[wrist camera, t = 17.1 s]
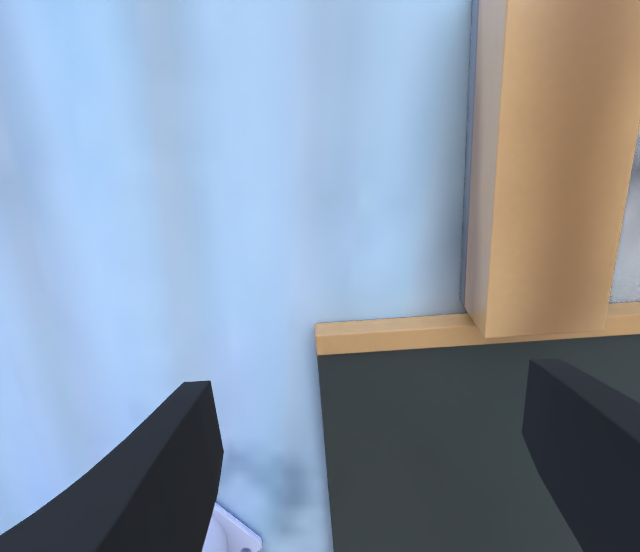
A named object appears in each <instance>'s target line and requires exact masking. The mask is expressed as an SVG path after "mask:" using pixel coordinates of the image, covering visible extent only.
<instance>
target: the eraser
mask: <svg viewBox="0 0 640 552" xmlns="http://www.w3.org/2000/svg"><path fill="white" fill-rule="evenodd" d="M639 124H640V0H472V22H471V45H470V68H469V91H468V114H467V138H466V161H465V184H464V207H463V231H462V254H461V277H460V301H461V302H462V304H463V305H464V306H465V309H466V311H467V312H468V314H469V315H470V317H471V318H472V320H473V321H474V323H475V324H476V326H477V327H478V329H479V330H480V332H481V333H482V335H483V336H484V338H500V337H515V336H531V335H546V334H561V333H576V332H591V331H603V330H604V327H605V321H606V316H607V310H608V304H609V298H610V292H611V287H612V281H613V275H614V269H615V263H616V258H617V252H618V246H619V240H620V234H621V229H622V223H623V217H624V211H625V205H626V200H627V194H628V188H629V182H630V176H631V171H632V165H633V159H634V153H635V147H636V142H637V136H638V130H639Z"/></svg>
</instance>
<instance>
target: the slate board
mask: <svg viewBox="0 0 640 552" xmlns="http://www.w3.org/2000/svg"><path fill="white" fill-rule="evenodd" d="M315 341H316V352H317V360H318V371H319V383H320V395H321V407H322V419H323V430H324V442H325V454H326V466H327V477H328V489H329V501H330V513H331V525H332V536H333V548H334V552H583V550H582V548H581V547H580V545H579V543H578V541H577V540H576V538H575V536H574V535H573V533H572V531H571V529H570V528H569V526H568V524H567V523H566V521H565V519H564V518H563V516H562V514H561V512H560V511H559V509H558V507H557V506H556V504H555V502H554V500H553V499H552V497H551V495H550V493H549V492H548V490H547V488H546V486H545V485H544V483H543V481H542V479H541V477H540V476H539V474H538V471H537V469H536V467H535V464H534V462H533V460H532V458H531V455H530V453H529V450H528V448H527V445H526V443H525V440H524V438H523V435H522V425H523V416H524V406H525V397H526V388H527V379H528V369H529V360H530V359H545V358H559V359H561V360H563V361H565V362H567V363H569V364H571V365H573V366H575V367H577V368H578V369H580V370H582V371H584V372H586V373H587V374H589V375H591V376H593V377H594V378H596V379H598V380H600V381H602V382H603V383H605V384H607V385H609V386H610V387H612V388H614V389H616V390H617V391H619V392H621V393H623V394H625V395H626V396H628V397H630V398H632V399H633V400H635V401H637V402H639V403H640V301H639V302H625V303H610V304H608V310H607V316H606V321H605V327H604V330H603V331H591V332H576V333H561V334H546V335H531V336H515V337H500V338H484V336H483V335H482V333H481V332H480V330H479V329H478V327H477V326H476V324H475V323H474V321H473V320H472V318H471V317H470V315H469V314H468V313H462V314H447V315H433V316H418V317H403V318H388V319H374V320H359V321H344V322H329V323H316V324H315Z"/></svg>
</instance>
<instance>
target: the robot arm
mask: <svg viewBox="0 0 640 552" xmlns="http://www.w3.org/2000/svg"><path fill="white" fill-rule="evenodd" d="M522 435H523V438H524V440H525V443H526V445H527V448H528V450H529V453H530V455H531V458H532V460H533V462H534V464H535V467H536V469H537V471H538V474H539V476H540V477H541V479H542V481H543V483H544V485H545V486H546V488H547V490H548V492H549V493H550V495H551V497H552V499H553V500H554V502H555V504H556V506H557V507H558V509H559V511H560V512H561V514H562V516H563V518H564V519H565V521H566V523H567V524H568V526H569V528H570V529H571V531H572V533H573V535H574V536H575V538H576V540H577V541H578V543H579V545H580V547H581V548H582V550H583V552H640V403H639V402H637V401H635V400H633V399H632V398H630V397H628V396H626V395H625V394H623V393H621V392H619V391H617V390H616V389H614V388H612V387H610V386H609V385H607V384H605V383H603V382H602V381H600V380H598V379H596V378H594V377H593V376H591V375H589V374H587V373H586V372H584V371H582V370H580V369H578V368H577V367H575V366H573V365H571V364H569V363H567V362H565V361H563V360H561V359H559V358H545V359H530V360H529V369H528V379H527V388H526V397H525V406H524V416H523V425H522ZM223 453H224V451H223V446H222V440H221V435H220V430H219V424H218V419H217V414H216V408H215V403H214V397H213V392H212V387H211V381H196V382H184V383H183V384H181V385H180V386H179V387H178V388H177V389H176V390H175V391H174V392H173V393H172V394H171V395H170V396H169V397H168V398H167V399H166V400H165V401H164V402H163V403H162V404H161V405H160V406H159V407H158V408H157V409H156V410H155V411H154V412H153V413H152V414H151V415H150V416H149V417H148V418H147V419H146V420H144V421H143V422H142V423H141V424H140V425H139V426H138V427H137V428H136V429H135V430H134V431H133V432H132V433H131V434H130V435H129V436H128V437H127V438H126V439H125V440H124V441H122V442H121V443H120V444H119V445H118V446H117V447H116V448H114V449H113V450H112V451H111V452H110V453H109V454H108V455H106V456H105V457H104V458H103V459H102V460H101V461H100V462H98V463H97V464H96V465H95V466H94V467H93V468H92V469H90V470H89V471H88V472H87V473H86V474H85V475H83V476H82V477H81V478H80V479H78V480H77V481H76V482H75V483H73V484H72V485H71V486H70V487H68V488H67V489H66V490H65V491H63V492H62V493H60V494H59V495H58V496H56V497H55V498H54V499H52V500H51V501H50V502H48V503H47V504H46V505H44V506H43V507H42V508H40V509H39V510H38V511H36V512H35V513H33V514H32V515H30V516H29V517H28V518H26V519H25V520H23V521H21V522H20V523H18V524H17V525H15V526H14V527H12V528H11V529H9V530H8V531H6V532H5V533H3V534H2V535H0V552H258V551H260V550H261V547H262V539H261V538H260V537H259V536H258V535H257V534H255V533H254V532H253V531H252V530H250V529H249V528H248V527H246V526H245V525H244V524H243V523H241V522H240V521H239V520H237V519H236V518H235V517H234V516H232V515H231V514H230V513H228V512H227V511H226V510H225V509H223V508H222V507H221V506H220V505H218V504H217V503H216V498H217V494H218V487H219V481H220V475H221V467H222V460H223Z"/></svg>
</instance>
